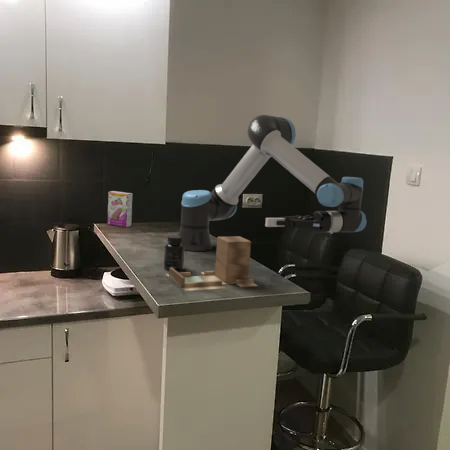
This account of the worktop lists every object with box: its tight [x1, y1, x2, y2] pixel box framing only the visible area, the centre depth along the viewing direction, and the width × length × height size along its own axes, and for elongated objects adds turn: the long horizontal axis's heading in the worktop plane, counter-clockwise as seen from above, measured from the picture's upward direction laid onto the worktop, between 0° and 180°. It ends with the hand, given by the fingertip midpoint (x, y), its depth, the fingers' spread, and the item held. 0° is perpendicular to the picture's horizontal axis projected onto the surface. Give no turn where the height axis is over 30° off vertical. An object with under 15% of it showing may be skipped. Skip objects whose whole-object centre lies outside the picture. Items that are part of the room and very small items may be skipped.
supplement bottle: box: [163, 234, 186, 272], centre depth 167 cm, size 7×7×12 cm
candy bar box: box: [106, 190, 134, 228], centre depth 242 cm, size 11×5×16 cm, turn 69°
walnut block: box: [214, 235, 252, 283], centre depth 159 cm, size 8×8×13 cm
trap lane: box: [165, 267, 259, 294], centre depth 157 cm, size 24×18×4 cm
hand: (266, 222), depth 162 cm, fingers closed
